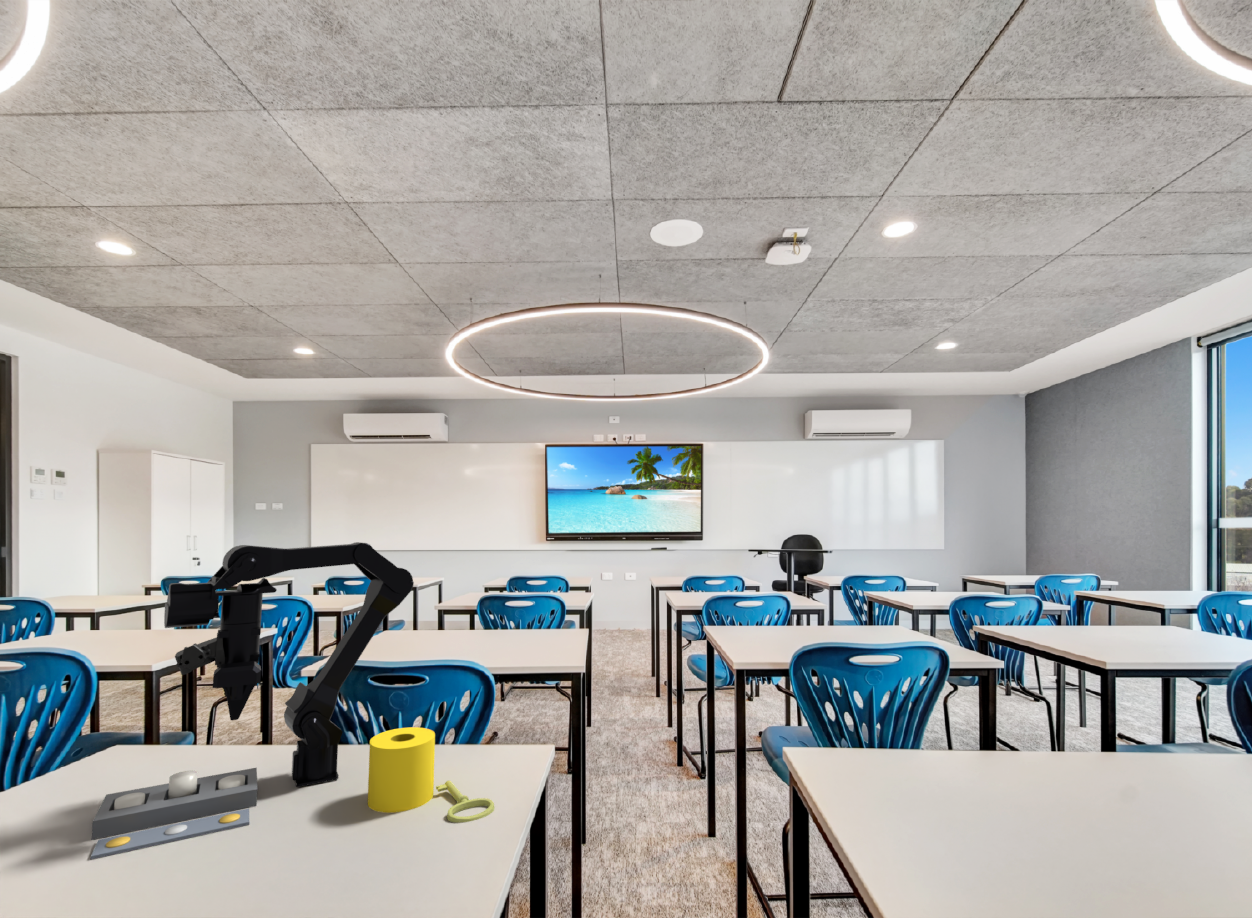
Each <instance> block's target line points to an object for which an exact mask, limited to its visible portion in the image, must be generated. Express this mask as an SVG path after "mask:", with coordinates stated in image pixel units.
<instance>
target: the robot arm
mask: <svg viewBox="0 0 1252 918" xmlns="http://www.w3.org/2000/svg"><path fill="white" fill-rule="evenodd" d="M346 565H347V566H348V565H355V566H356V568H357V569H358V570H359V571H360V572H361V573H362V574H363V575H364V577H366V578H367V579H368V580H369V581H370V582H369V585H368V587H367V589H366V593H365V597H364V601H363V604H362V607H361V609H360V610H359V611H358V613H357V615H356V616H355V618H353V620H352V623H351V624H350V625H349V627H348V628H347V630H346V632H345V633H344V634H343V636H342V638H341V640H339V642H338V644H337V645H336V647H335V648H334V650H333V652H332V653H331V655H330V656H329V658H328V659H327V661H326V663H325V664H324V666H323V667H322V668H321V670H320V671H319V673H318V674H317V676H316V677H315V678H314V679H313V680H311V682H310V683H308V684H307V685H305V684H304V683H303V682H299V683H298V684H297V686H296V688H295V689H294V692H293V693H292V695H291V697H290V698H289V699H288V700H286V702H285V703H284V705H285V706H286V708H285V710H284V712H283V713H284V714H283V719H284V722H285V724H286V726H287V727H288V728H289V730H290V731H291V732H292V733H293V734H294V735H295V736H296V737H297V738H299V740H297V741H296V750H293V751H292V761H291V779H292V781H293V782H295V787H296V788H301V787H306V786H309V785H314V784H321V783H326V782H330V781H336V780H338V779H339V776H340V775H339V773H338V754H339V743H340V741H341V738H342V735H343V732H344V731H343V729H341V728H340V727H338V726H337V725H336V724H335V723H334V722H332V721H331V718H332V716H333V714H334V712H335V709H336V705H337V701H338V698H339V694H340V690H341V688H342V686H343V685H344V683H345V681H346V680H347V678H348V677H349V675H350V673H351V672H352V670H353V668H355V666H356V663H358V660H359V659H360V657H361V656H362V655H363V653H364V651H365V649H366V648H367V646H368V644H369V643H370V641H371V640H372V639H373V637H374V635H375V633H376V632H377V630H378V629H379V627H380V626H381V624H382V622H383V621H384V619H385V618H386V617H387V616H388V615H389V614H390V613H392V611H394V610H395V609H396V608H397V607H399V606H400V605H401V604H402V602H403V601H404V600H405V599H406V598H407V596H408V595H409V594H411V592H412V589H413V588H414V584H415V582H414V577H413V576H412V573H411V572H410V571H409V570H408V569H405V568H403V567H398V566H396V565H395V564H394V563H393V562H392V561H390V560H389V559H388V558H386V557H385V556H383V555H382V554H381V553H379V552H378V551H377V550H376V549H375V548H373V546H372V545H371V544H370V543H367V542H353V543H349V544H348V543H347V544H345V543H343V544H334V545H321V546H320V545H318V546H305V547H304V546H303V547H292V548H291V547H289V548H283V547H273V546H271V547H269V546H260V545H249V544H242V545H241V544H240V545H236V546H233V547H232V548H230V549H229V550H228V551H227V552H225V555H224V556H223V559H222V566H221V567H220V568H219V569H218V570H217V571H216V572H215V573H214V574H213V575H211V578H210V579H209V580H208V581H207V582H198V583H196V582H195V583H183V582H171V583H170V584H169V585H168V586H169V587H168V593H167V600H166V602H165V603H164V613H163V614H164V616H163V617H164V622H163V623H164V624H163V625H164V628H165V629H170V628H171V629H172V628H181V627H182V628H183V627H184V628H185V627H195V626H196V627H197V626H207V625H209V624H210V620H211V621H212V620H214V619H215V618H217V617H218V614H219V606H220V605H219V602H220V601H219V600H220V597H222V598H221V612H220V613H221V614H220V625H219V629H217V633H216V637H214V638H211V639H208V640H205V641H203V642H199V643H193V644H192V645H190V646H185V647H183V649H182V650H179V651H177V652H176V654H175V655H174V659H175V662H176V666H177V668H178V669H179V672H180V675H181V676H184V675H187V674H190V673H193V672H192V671H194V670H196V669H199V668H202V667H205V666H207V665H209V664H211V663H214V666H216V669H215V670H214V671H213V675H212V676H213V678H212V689H221V688H222V689H223V690H224V691H225V696H226V701H227V702H226V703H227V708H228V713H229V719H230V721H237V720H239V719H240V716H241V715H242V712H243V711H244V709H245V706H246V705H247V702H248V700H249V698H250V696H251V694H252V692H253V690H254V689H255V687H256V685H257V684H260V683H261V677H262V668H261V667H262V666H261V665H260V664H259V663H260V640H261V635H262V634H261V631H262V629H261V628H262V627H261V623H262V610H263V609H262V606H263V597H264V596H263V595H264V594H274V593H276V592H277V591H278V590H277V588H276V587H275V586H273V585H272V584H271V583H270V582H269V580H268V579H267V578H268V577H271V576H274V575H277V574H278V575H279V574H281V573H284V572H288V571H292V570H293V571H295V570H304V569H305V570H306V569H316V568H327V567H336V566H339V567H340V566H346ZM259 579H260V580H259ZM255 580H259V581H258V582H254V583H252V582H251V581H255ZM241 582H251V583H241ZM236 585H237V588H236V589H231V588H233V587H235V586H236ZM228 589H230V590H228Z"/></svg>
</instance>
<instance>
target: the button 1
mask: <svg viewBox="0 0 1252 918" xmlns="http://www.w3.org/2000/svg"><path fill="white" fill-rule="evenodd" d="M143 804H145V793H131V794H127V795H123V796H121V797H119V798H117V799H116V800H115V803H114V810H117V809H122V808H127V807H132V806H138V805H143Z"/></svg>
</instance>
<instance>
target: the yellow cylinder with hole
mask: <svg viewBox="0 0 1252 918" xmlns="http://www.w3.org/2000/svg"><path fill="white" fill-rule="evenodd" d="M435 748H436V733H435V731H434V730H432V729H429V728H425V727H417V726H416V727H414V726H413V727H411V726H410V727H399V728H394V729H389V730H386V731H383V732H380V733H378V734H375V735H374V736H373V737H371V738H370V740H369V755H368V756H369V757H368V778H367V779H368V782H367V787H368V788H367V807H369V809H371V810H372V811H375V812H378V813H388V814H392V813H395V814H396V813H401V812H409V811H411V810H415V809H417V808H420V807H423V806H425V805H426V804H427V803H429V802H430V801H431V800H432V799H433V797H434V792H435V791H434V790H435V789H434V785H435V784H434V783H435V752H436V749H435Z"/></svg>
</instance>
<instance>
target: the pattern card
mask: <svg viewBox="0 0 1252 918" xmlns="http://www.w3.org/2000/svg"><path fill="white" fill-rule="evenodd" d="M249 825H250V808H243V809H238V810H234V811H229V812H224V813H219V814H214V815H209V816H205V817H200V818H195V819H190V820H185V821H180V822H176V823H171V824H166V825H161V826H156V827H152V828H147V829H142V830H137V831H132V832H128V833H123V834H118V835H113V836H108V837H104V838H99V839H97V841H96V844H95V846H94V849H93V850H92V852H91V855H90V860H95V859H100V858H103V857H107V856H114V855H117V854H122V853H126V852H131V851H132V852H133V851H135V850H136V851H137V850H140V849H144V848H149V847H150V848H151V847H154V846H157V845H162V844H167V843H173V842H177V841H180V840H185V839H190V838H194V837H199V836H203V835H204V836H205V835H208V834H213V833H214V834H215V833H216V832H217V833H218V832H222V831H227V830H231V829H235V828H236V829H237V828H240V827H245V826H249Z"/></svg>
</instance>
